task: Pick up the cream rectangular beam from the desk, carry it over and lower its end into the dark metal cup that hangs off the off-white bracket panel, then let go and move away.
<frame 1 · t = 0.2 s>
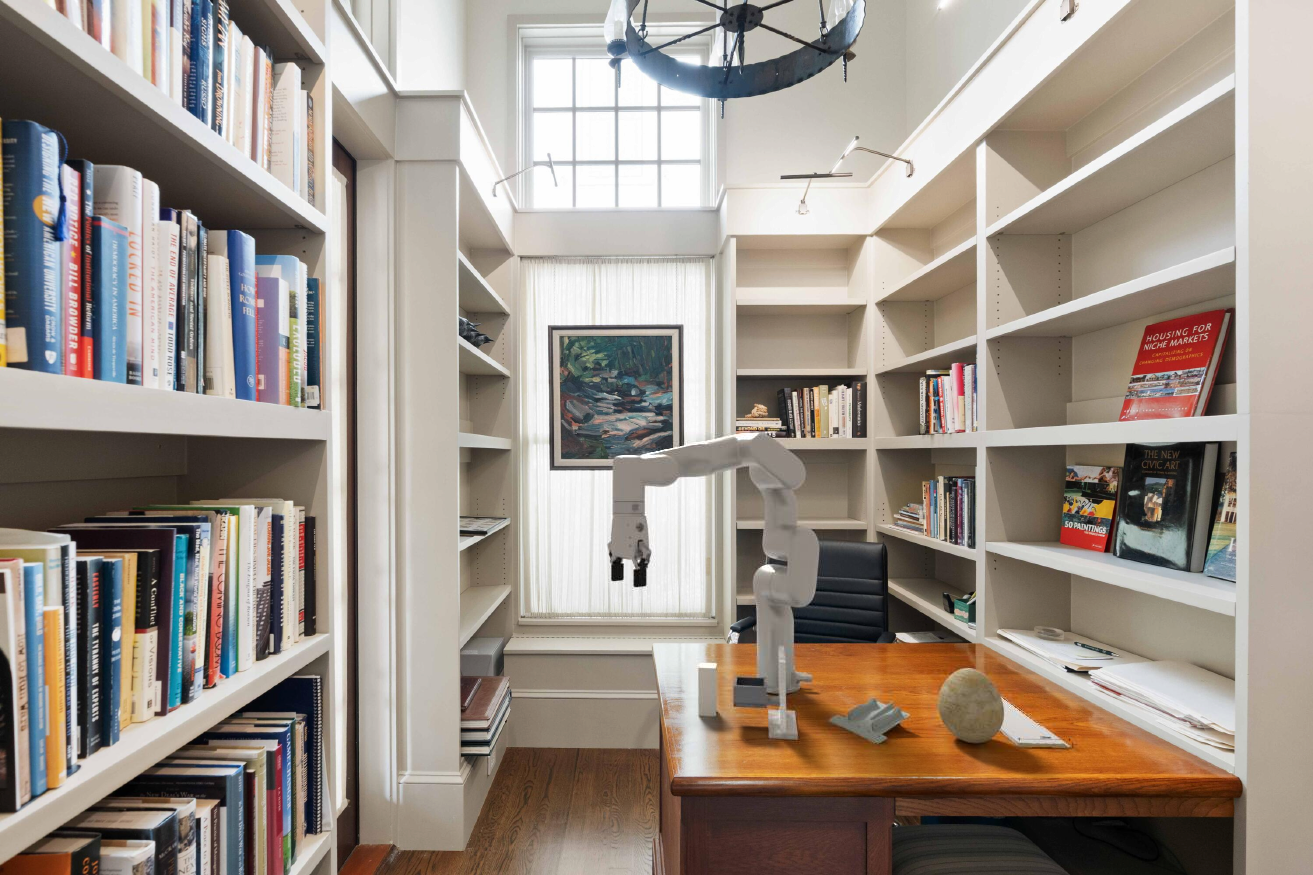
hand: (628, 583, 160), 31 cm above the table, tool pointing down, fingers open, 9 cm apart
fossilized egg: (971, 741, 146), on the table
metal bracket: (873, 730, 154), on the table
baseboard: (1013, 723, 158), on the table
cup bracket: (750, 724, 155), on the table
cream rectangular beam: (707, 712, 163), on the table
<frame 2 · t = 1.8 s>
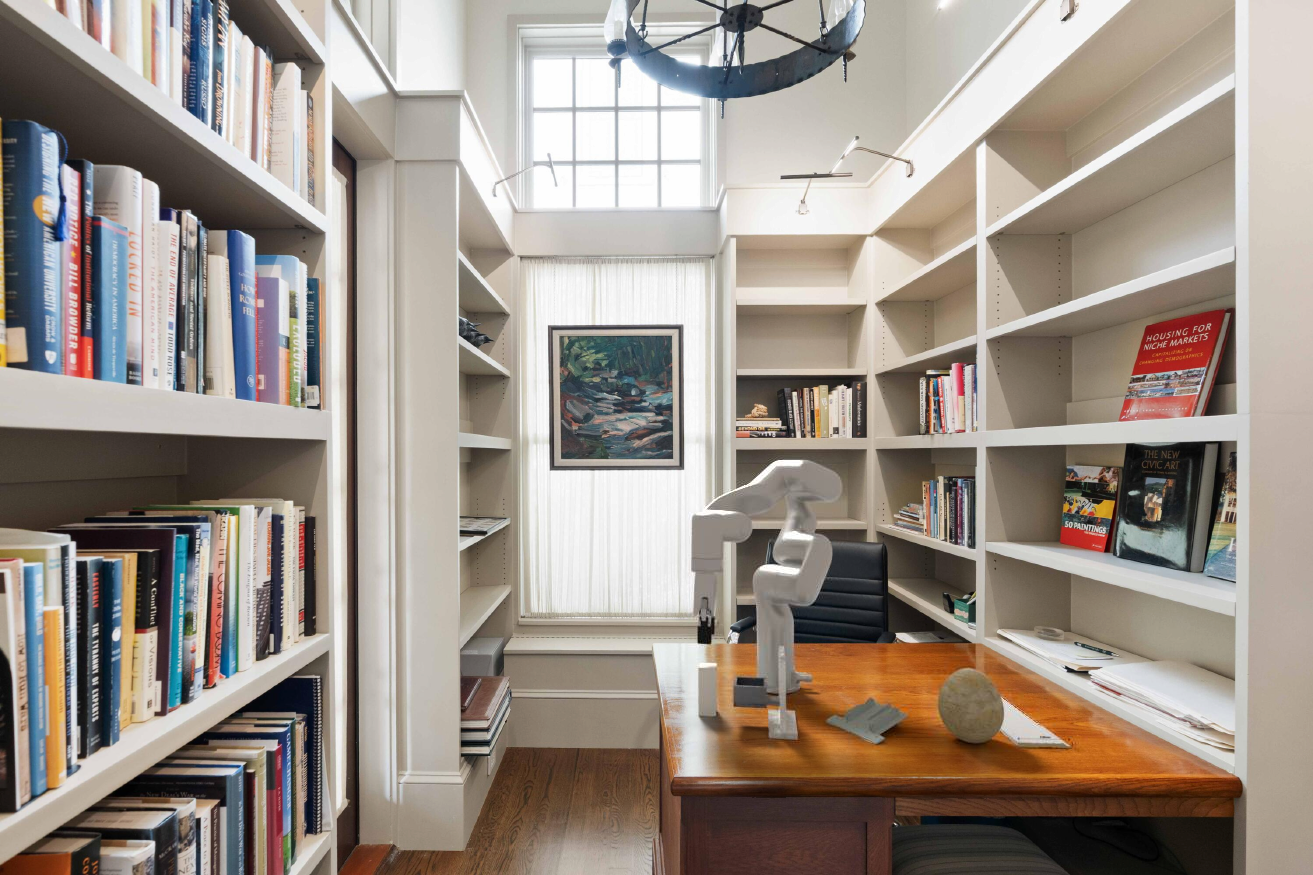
hand: (706, 638, 163), 17 cm above the table, tool pointing down, fingers open, 9 cm apart
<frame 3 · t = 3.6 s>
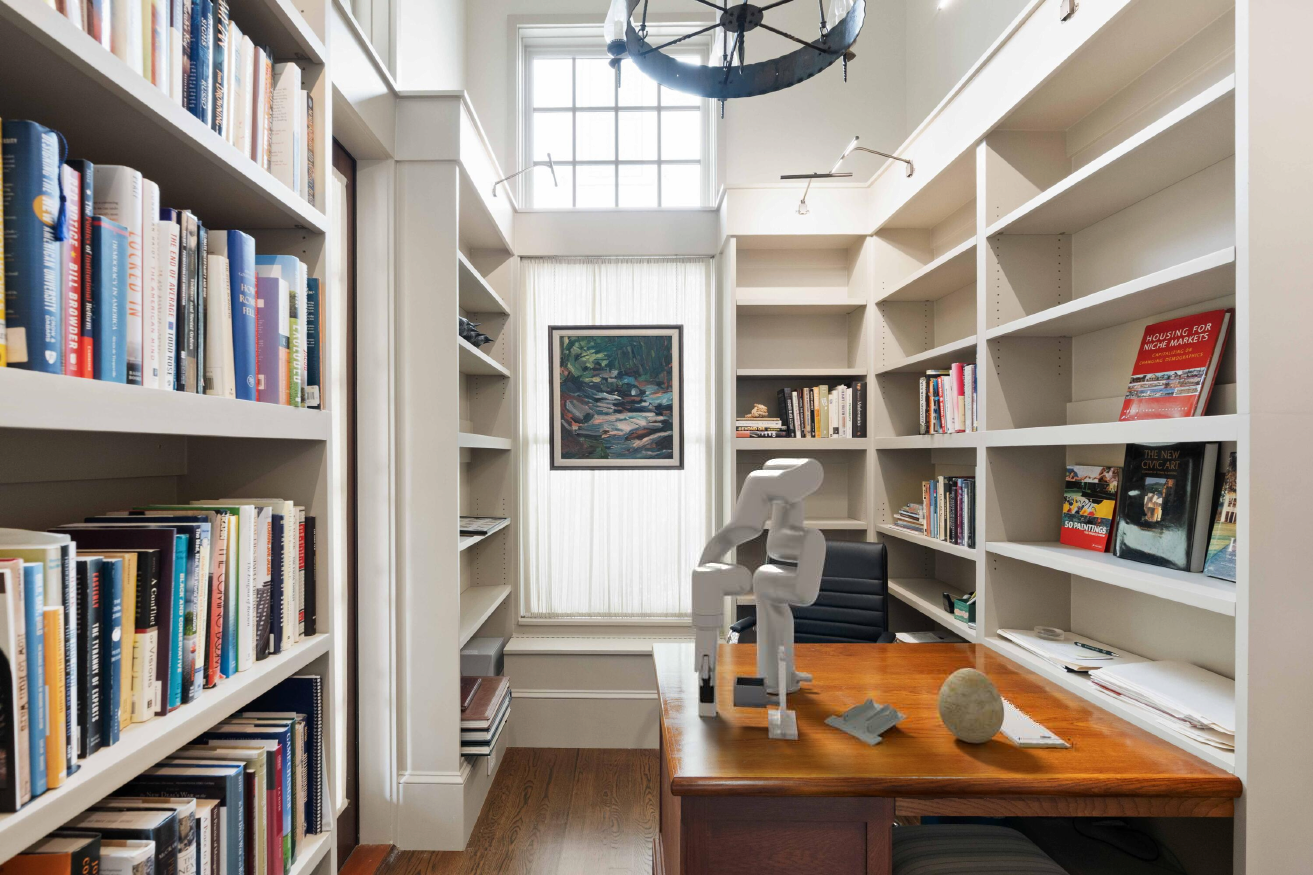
hand: (707, 698, 163), 3 cm above the table, tool pointing down, fingers closed on cream rectangular beam, 4 cm apart
cream rectangular beam: (707, 712, 163), on the table, touching gripper
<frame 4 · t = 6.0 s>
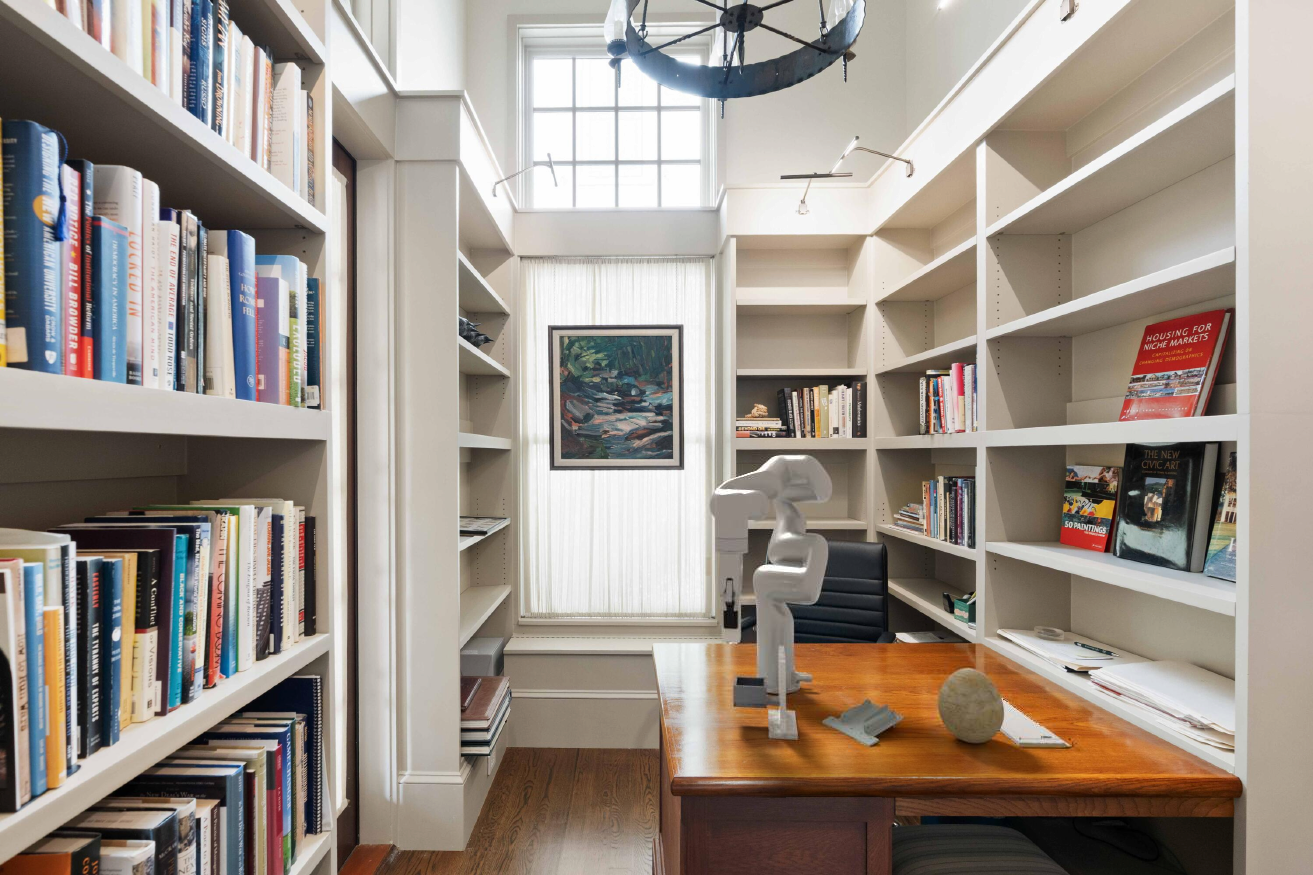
hand: (731, 625, 159), 21 cm above the table, tool pointing down, fingers closed on cream rectangular beam, 4 cm apart
cream rectangular beam: (731, 639, 159), point 18 cm above the table, touching gripper
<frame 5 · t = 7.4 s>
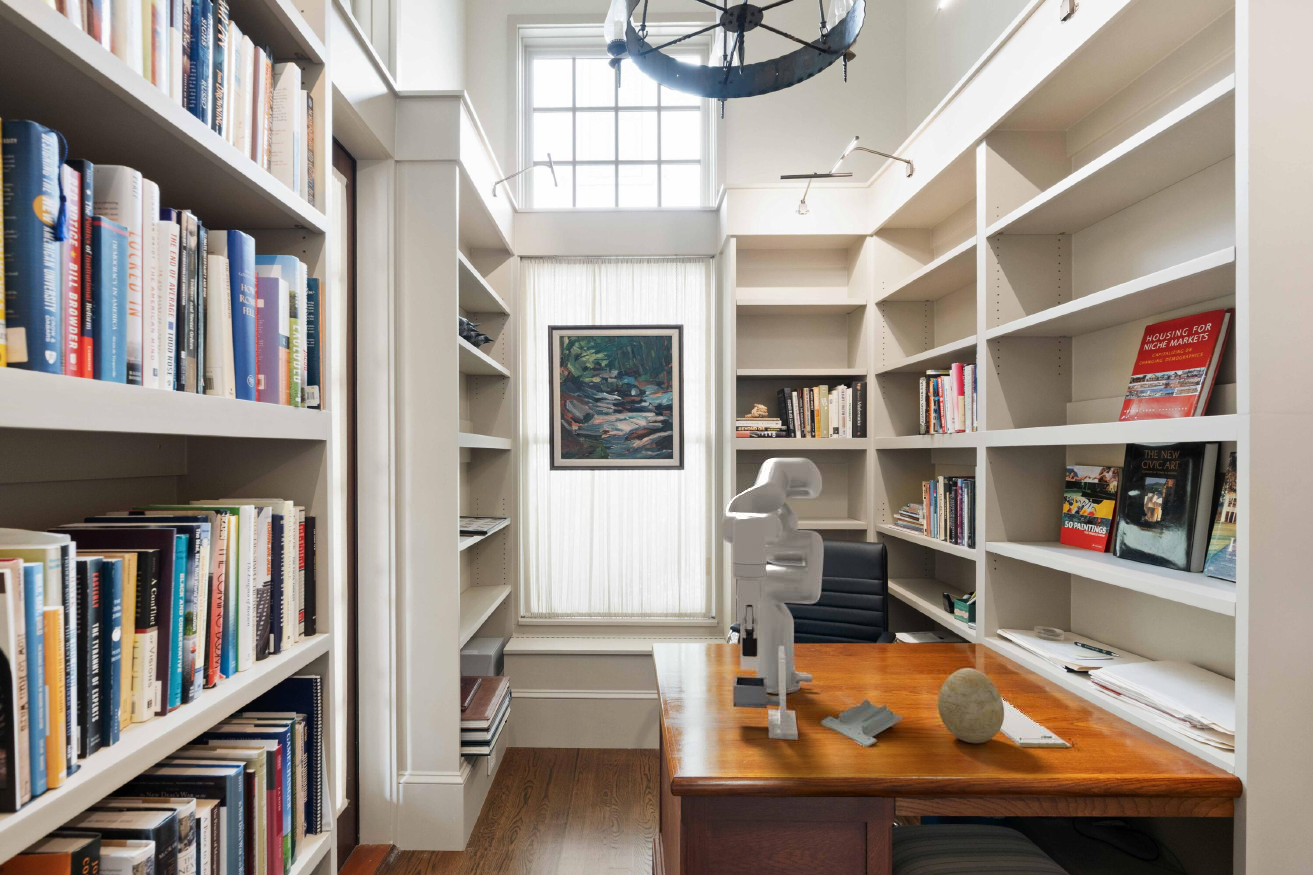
hand: (749, 652, 156), 16 cm above the table, tool pointing down, fingers closed on cream rectangular beam, 4 cm apart
cream rectangular beam: (749, 667, 156), point 13 cm above the table, touching gripper
when the fingers open (11 cm above the table, at t = 8.6 s): cream rectangular beam drops 1 cm, resting on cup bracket.
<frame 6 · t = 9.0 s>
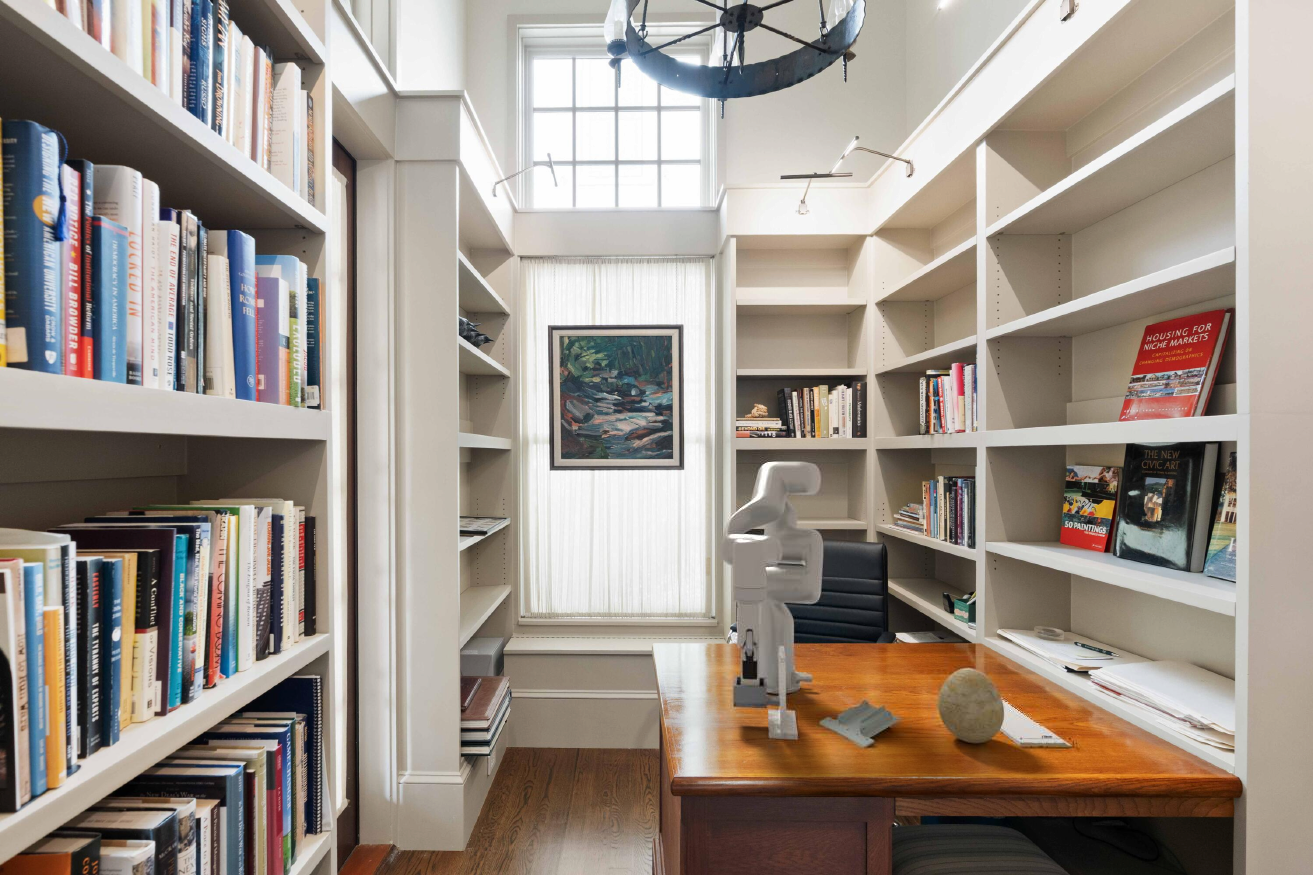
hand: (750, 672, 156), 11 cm above the table, tool pointing down, fingers open, 8 cm apart
cream rectangular beam: (750, 697, 156), point 6 cm above the table, touching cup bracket
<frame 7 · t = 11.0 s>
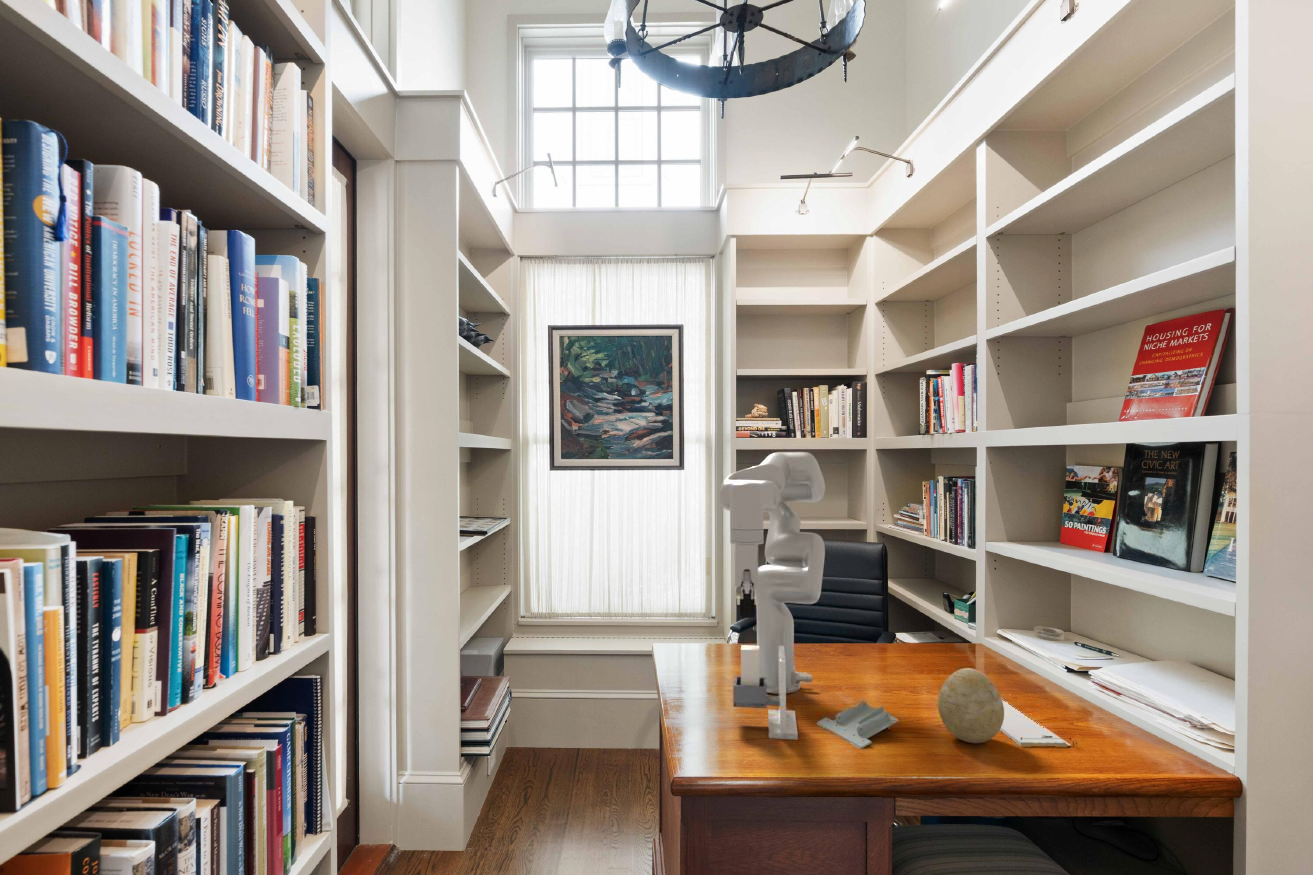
hand: (747, 612, 158), 25 cm above the table, tool pointing down, fingers open, 9 cm apart
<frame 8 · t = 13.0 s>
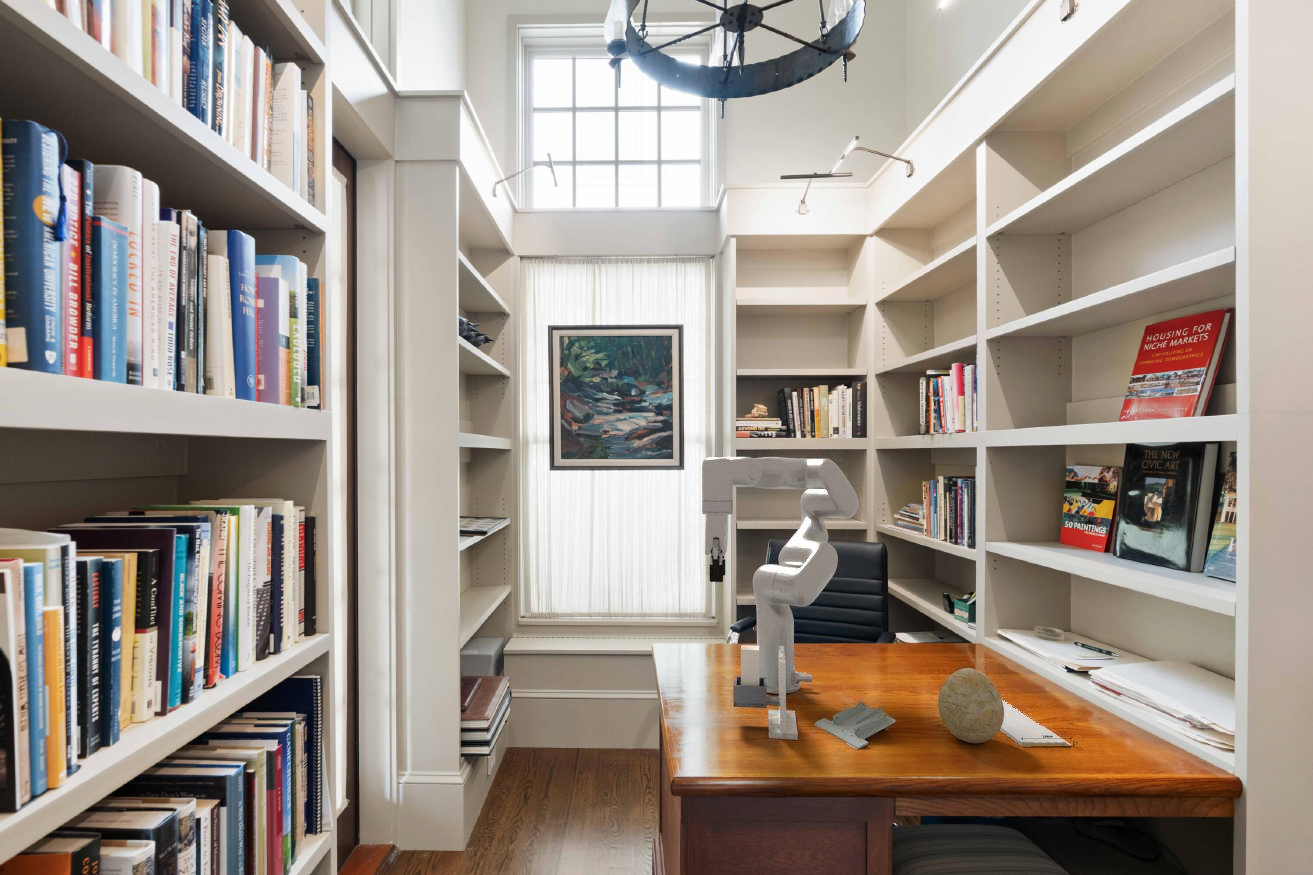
hand: (717, 578, 170), 30 cm above the table, tool pointing down, fingers open, 9 cm apart
at the end: cream rectangular beam 0.0 cm off-centre on the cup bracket, point 6.0 cm above the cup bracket's base; cream rectangular beam tilted 0°; the gripper is holding nothing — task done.
